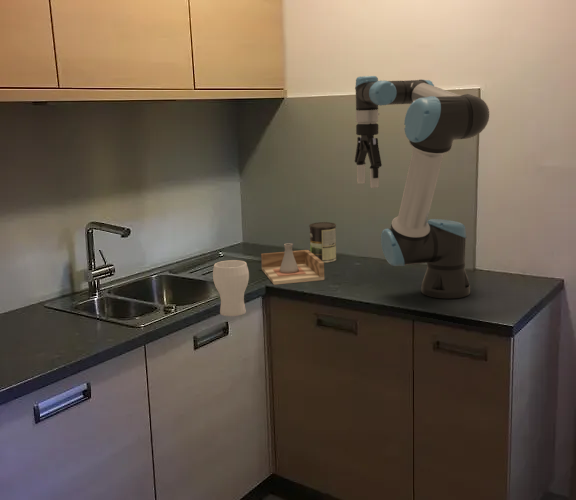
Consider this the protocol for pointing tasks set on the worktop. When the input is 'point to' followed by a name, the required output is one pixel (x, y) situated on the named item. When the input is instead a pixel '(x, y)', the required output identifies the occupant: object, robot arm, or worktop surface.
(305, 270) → the tray
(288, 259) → the flask
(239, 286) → the cup
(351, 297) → the worktop surface
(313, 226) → the coffee can
